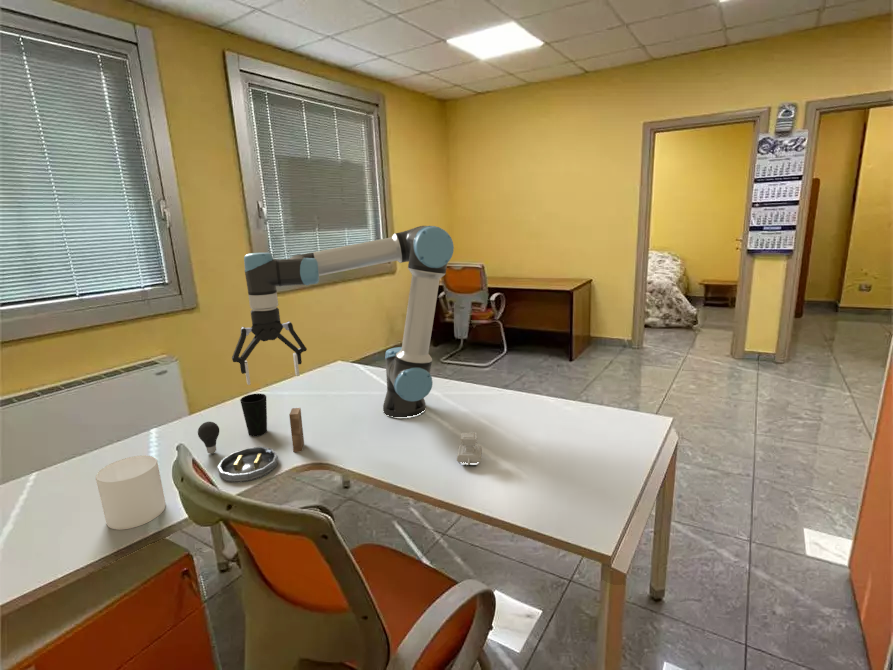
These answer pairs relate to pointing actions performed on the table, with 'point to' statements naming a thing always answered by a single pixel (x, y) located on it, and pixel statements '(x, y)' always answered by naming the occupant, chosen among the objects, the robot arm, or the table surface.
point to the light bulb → (209, 435)
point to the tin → (247, 464)
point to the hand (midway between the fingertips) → (273, 379)
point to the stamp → (469, 449)
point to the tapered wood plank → (296, 429)
